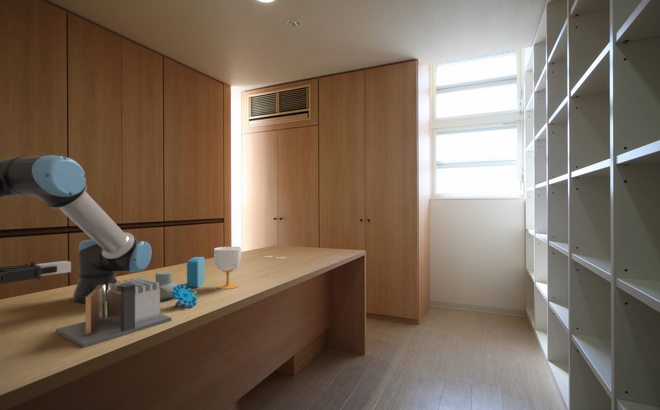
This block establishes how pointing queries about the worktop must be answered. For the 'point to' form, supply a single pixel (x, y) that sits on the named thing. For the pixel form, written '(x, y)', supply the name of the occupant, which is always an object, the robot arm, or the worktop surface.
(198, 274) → the data package
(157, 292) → the heat sink
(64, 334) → the cooler board
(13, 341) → the worktop surface
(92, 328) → the bar
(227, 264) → the cup
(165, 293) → the air freshener
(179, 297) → the gear
